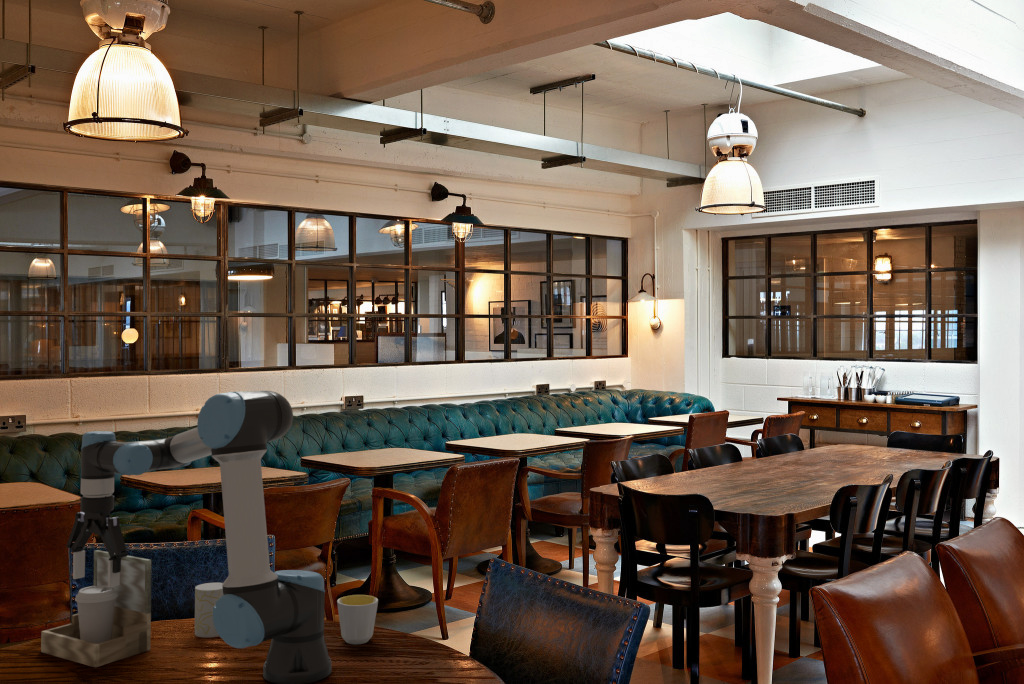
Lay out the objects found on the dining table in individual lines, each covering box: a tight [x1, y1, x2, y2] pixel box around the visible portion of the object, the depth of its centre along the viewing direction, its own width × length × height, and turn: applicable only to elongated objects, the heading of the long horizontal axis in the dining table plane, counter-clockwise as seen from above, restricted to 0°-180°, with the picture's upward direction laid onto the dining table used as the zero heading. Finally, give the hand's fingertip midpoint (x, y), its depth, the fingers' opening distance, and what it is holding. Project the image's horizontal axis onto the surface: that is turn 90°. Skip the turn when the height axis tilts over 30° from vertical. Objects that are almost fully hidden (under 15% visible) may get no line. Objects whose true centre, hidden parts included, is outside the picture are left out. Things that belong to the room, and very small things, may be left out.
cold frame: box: [40, 549, 152, 668], centre depth 227 cm, size 21×16×22 cm
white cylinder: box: [194, 582, 223, 638], centre depth 241 cm, size 8×8×12 cm
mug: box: [336, 594, 379, 645], centre depth 237 cm, size 14×10×10 cm
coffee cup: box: [74, 585, 118, 644], centre depth 226 cm, size 10×10×15 cm
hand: (95, 582), depth 226 cm, fingers open, 13 cm apart
